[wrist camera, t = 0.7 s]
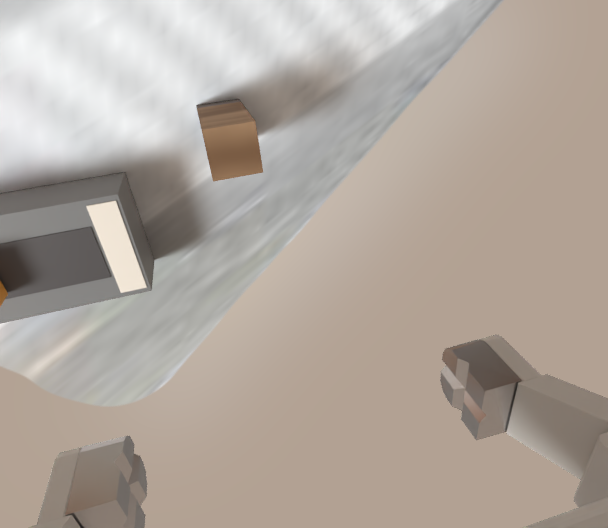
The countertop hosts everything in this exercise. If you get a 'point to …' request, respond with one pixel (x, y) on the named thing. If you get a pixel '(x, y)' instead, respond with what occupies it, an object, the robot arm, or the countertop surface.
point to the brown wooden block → (230, 139)
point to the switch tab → (2, 293)
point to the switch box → (71, 246)
